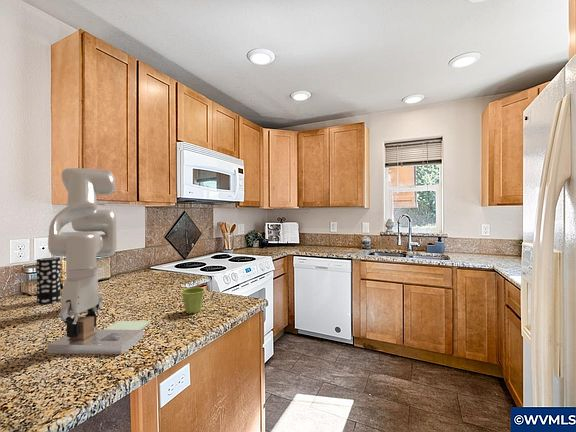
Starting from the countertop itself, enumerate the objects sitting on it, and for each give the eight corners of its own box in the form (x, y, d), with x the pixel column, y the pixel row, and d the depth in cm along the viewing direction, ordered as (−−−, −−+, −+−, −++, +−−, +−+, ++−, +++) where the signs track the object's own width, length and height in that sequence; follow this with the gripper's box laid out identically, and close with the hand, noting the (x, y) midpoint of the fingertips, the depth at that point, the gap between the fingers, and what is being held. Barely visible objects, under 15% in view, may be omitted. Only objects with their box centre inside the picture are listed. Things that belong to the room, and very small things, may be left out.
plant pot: (191, 316, 111) (191, 294, 111) (176, 312, 116) (176, 291, 116) (209, 310, 119) (209, 289, 119) (194, 306, 124) (194, 286, 124)
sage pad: (101, 333, 96) (101, 330, 96) (118, 323, 105) (118, 320, 105) (136, 333, 95) (136, 331, 95) (150, 323, 104) (150, 321, 104)
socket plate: (47, 353, 82) (47, 344, 82) (77, 336, 93) (77, 329, 93) (121, 354, 81) (121, 345, 81) (142, 337, 92) (142, 329, 92)
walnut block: (69, 348, 85) (69, 321, 85) (80, 341, 90) (80, 316, 90) (83, 348, 85) (83, 321, 85) (94, 341, 89) (94, 316, 89)
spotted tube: (32, 303, 129) (32, 259, 129) (53, 298, 136) (53, 257, 136) (43, 305, 126) (43, 260, 126) (64, 300, 133) (64, 258, 133)
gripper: (90, 268, 96) (90, 321, 96) (44, 280, 79) (45, 344, 79) (112, 268, 96) (112, 321, 96) (70, 280, 78) (71, 344, 78)
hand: (82, 331), depth 87 cm, fingers open, 6 cm apart
